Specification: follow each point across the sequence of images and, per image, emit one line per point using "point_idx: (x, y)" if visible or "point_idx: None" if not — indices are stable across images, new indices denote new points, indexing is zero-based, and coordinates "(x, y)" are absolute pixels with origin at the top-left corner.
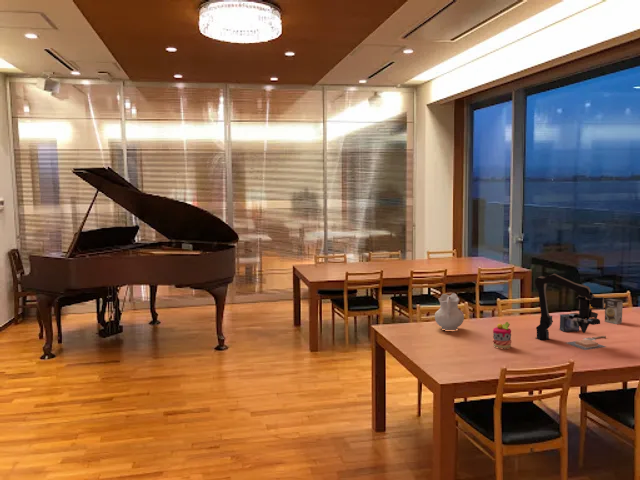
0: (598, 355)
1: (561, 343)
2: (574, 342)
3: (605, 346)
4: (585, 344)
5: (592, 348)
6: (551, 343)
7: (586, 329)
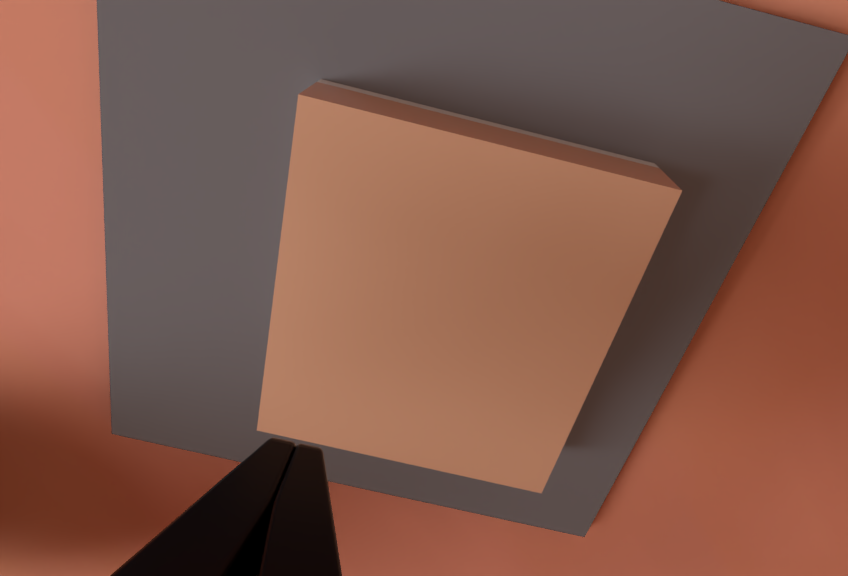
0: (844, 572)
1: (95, 446)
2: (175, 297)
3: (819, 37)
4: (531, 490)
5: (640, 393)
6: (39, 535)
7: (340, 566)
